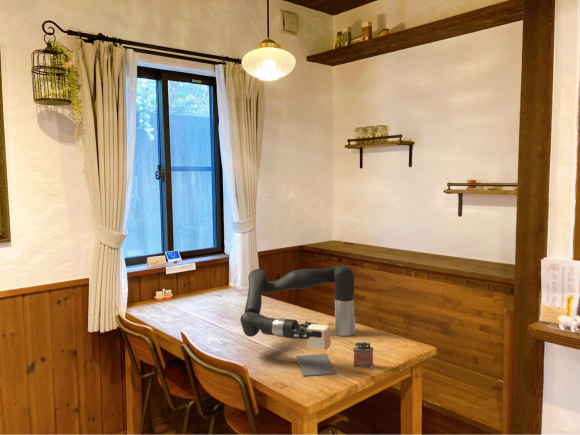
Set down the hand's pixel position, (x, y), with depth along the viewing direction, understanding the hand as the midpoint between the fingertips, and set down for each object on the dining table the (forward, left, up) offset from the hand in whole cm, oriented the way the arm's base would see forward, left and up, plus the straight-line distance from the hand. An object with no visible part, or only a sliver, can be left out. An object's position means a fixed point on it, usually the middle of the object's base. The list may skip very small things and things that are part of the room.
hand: (323, 332), depth 177 cm
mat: (+3, -2, -14) cm, 15 cm away
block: (+5, -3, -2) cm, 6 cm away
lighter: (-16, +2, -15) cm, 22 cm away
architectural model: (+20, -53, -15) cm, 59 cm away
